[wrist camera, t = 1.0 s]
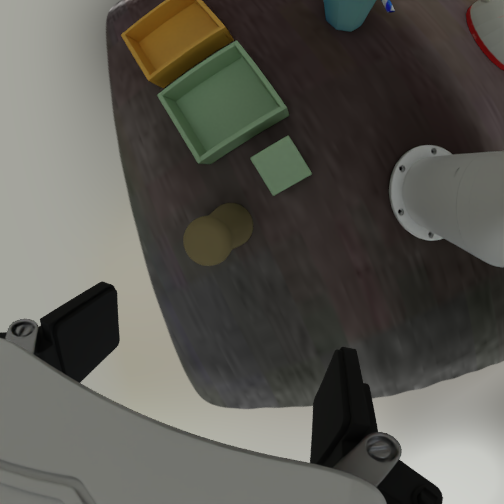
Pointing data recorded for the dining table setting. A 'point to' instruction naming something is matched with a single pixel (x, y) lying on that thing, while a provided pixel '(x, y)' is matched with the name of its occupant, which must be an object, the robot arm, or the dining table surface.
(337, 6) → the cup
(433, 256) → the dining table surface
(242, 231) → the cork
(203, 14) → the ochre bin
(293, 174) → the green block
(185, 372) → the dining table surface
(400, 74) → the dining table surface
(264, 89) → the green bin
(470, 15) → the kitchen timer
